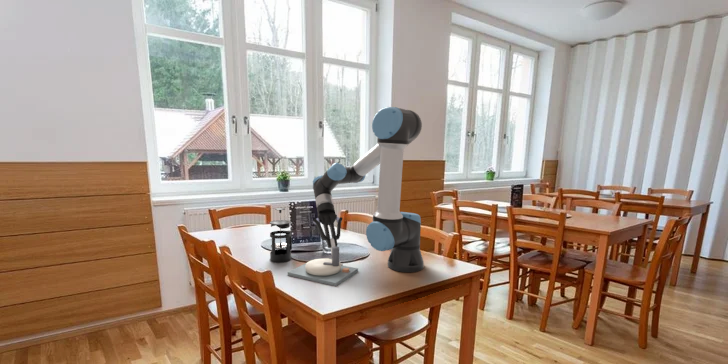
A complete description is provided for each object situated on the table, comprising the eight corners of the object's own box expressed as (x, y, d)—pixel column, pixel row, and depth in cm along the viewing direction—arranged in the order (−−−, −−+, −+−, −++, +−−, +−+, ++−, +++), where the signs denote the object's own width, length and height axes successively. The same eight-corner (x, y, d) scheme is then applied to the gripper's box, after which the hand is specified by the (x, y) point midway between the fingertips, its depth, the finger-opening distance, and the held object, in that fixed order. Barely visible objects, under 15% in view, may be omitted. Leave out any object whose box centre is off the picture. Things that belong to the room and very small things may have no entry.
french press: (280, 264, 140) (279, 211, 138) (264, 260, 144) (263, 209, 142) (298, 257, 150) (298, 207, 148) (282, 253, 155) (282, 205, 152)
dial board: (358, 270, 134) (358, 265, 134) (335, 286, 118) (335, 280, 118) (313, 262, 144) (313, 257, 143) (287, 275, 128) (287, 269, 128)
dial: (342, 275, 124) (342, 251, 124) (304, 276, 123) (304, 252, 122) (340, 262, 138) (340, 241, 137) (306, 263, 137) (306, 242, 136)
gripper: (337, 210, 151) (347, 257, 137) (309, 211, 147) (316, 260, 132) (341, 200, 145) (351, 248, 131) (311, 201, 141) (319, 251, 127)
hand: (334, 254), depth 132 cm, fingers closed
